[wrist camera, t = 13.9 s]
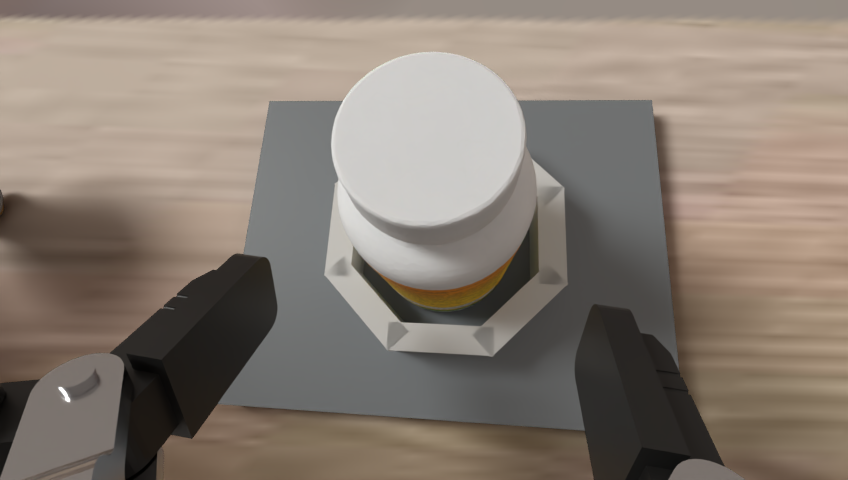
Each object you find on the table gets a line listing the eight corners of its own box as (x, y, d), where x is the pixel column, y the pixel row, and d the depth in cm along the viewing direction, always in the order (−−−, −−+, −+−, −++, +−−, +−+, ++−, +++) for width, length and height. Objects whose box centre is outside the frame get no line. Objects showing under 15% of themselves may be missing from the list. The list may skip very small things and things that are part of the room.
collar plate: (230, 401, 18) (186, 410, 15) (278, 112, 21) (249, 75, 18) (672, 432, 16) (719, 450, 13) (642, 112, 19) (674, 71, 17)
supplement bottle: (524, 294, 17) (608, 222, 7) (397, 327, 17) (320, 298, 7) (487, 177, 18) (517, -7, 9) (370, 208, 18) (277, 57, 9)
